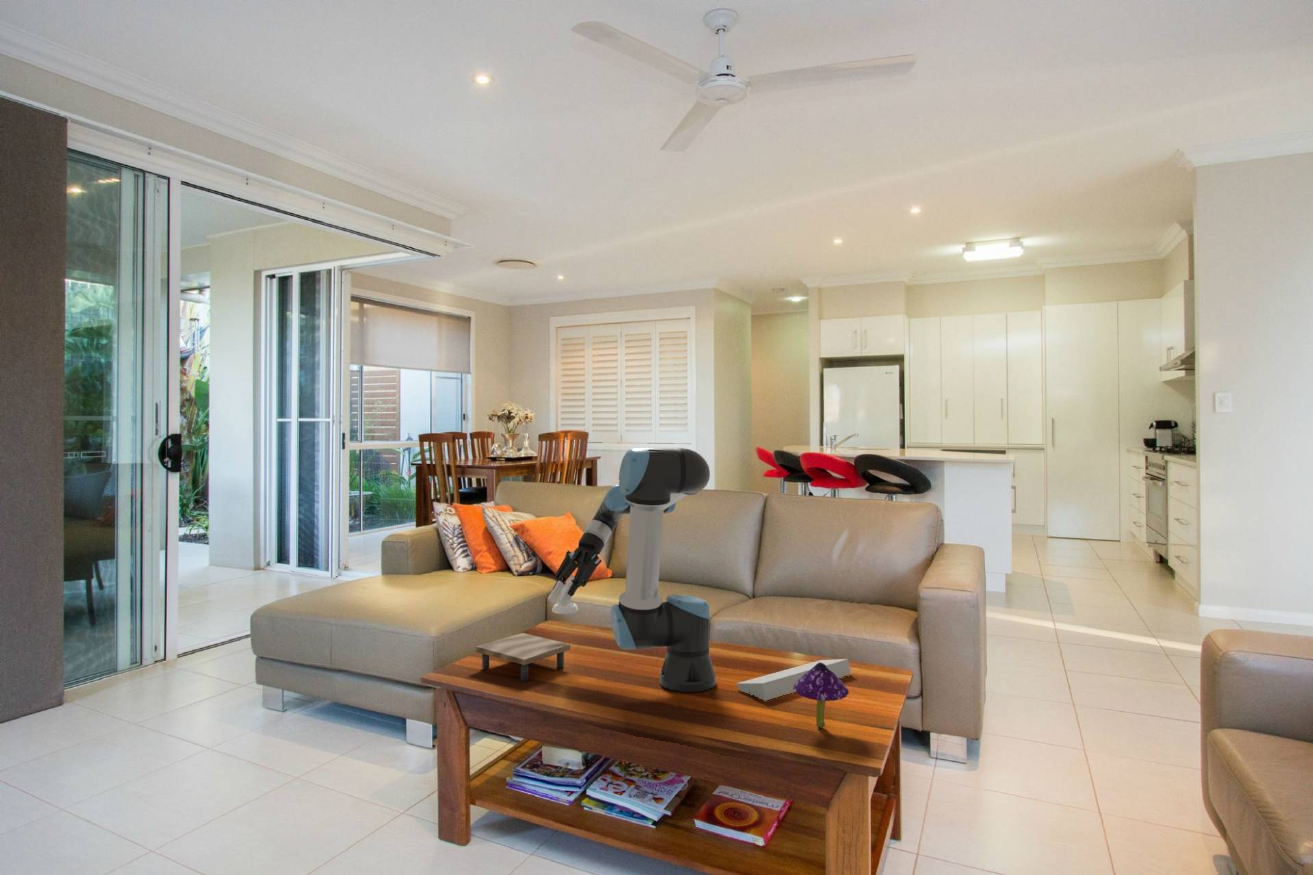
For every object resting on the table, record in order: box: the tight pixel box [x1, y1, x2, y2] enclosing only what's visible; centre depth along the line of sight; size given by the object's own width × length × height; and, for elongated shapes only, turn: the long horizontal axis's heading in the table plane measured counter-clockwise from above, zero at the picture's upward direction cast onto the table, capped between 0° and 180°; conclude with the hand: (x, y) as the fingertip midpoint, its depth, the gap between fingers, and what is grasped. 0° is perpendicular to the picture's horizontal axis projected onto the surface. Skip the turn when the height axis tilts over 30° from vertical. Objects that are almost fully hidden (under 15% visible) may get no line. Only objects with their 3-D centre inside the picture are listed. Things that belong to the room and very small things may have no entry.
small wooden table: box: [475, 632, 571, 682], centre depth 200 cm, size 20×18×6 cm
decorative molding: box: [736, 658, 852, 702], centre depth 189 cm, size 34×5×10 cm
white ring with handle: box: [551, 574, 579, 615], centre depth 208 cm, size 8×12×7 cm
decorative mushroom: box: [793, 662, 850, 729], centre depth 159 cm, size 12×12×15 cm
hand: (556, 602), depth 204 cm, fingers closed on white ring with handle, 4 cm apart
